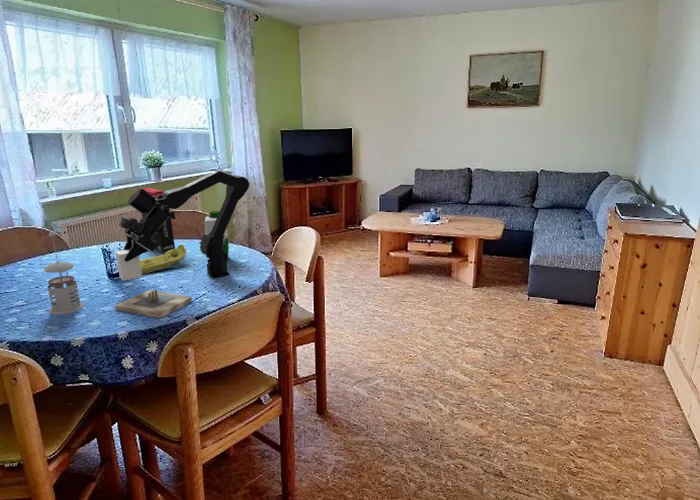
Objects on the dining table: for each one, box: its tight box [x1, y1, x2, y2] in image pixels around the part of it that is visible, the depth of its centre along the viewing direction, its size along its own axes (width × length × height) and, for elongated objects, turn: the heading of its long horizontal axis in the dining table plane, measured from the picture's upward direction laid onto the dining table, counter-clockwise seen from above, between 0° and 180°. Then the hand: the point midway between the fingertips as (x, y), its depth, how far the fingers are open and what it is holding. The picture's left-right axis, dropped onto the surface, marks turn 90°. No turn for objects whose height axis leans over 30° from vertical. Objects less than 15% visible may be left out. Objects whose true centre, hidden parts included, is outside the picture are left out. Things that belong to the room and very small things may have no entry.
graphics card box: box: [137, 187, 176, 253], centre depth 210 cm, size 17×7×27 cm, turn 46°
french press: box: [43, 231, 85, 316], centre depth 146 cm, size 10×12×25 cm
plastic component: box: [140, 244, 187, 274], centre depth 188 cm, size 20×7×10 cm
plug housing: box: [115, 249, 143, 282], centre depth 157 cm, size 6×5×9 cm
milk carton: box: [204, 210, 230, 262], centre depth 193 cm, size 9×9×20 cm
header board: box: [114, 289, 193, 319], centre depth 149 cm, size 14×18×5 cm
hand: (123, 259), depth 156 cm, fingers closed on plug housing, 5 cm apart
